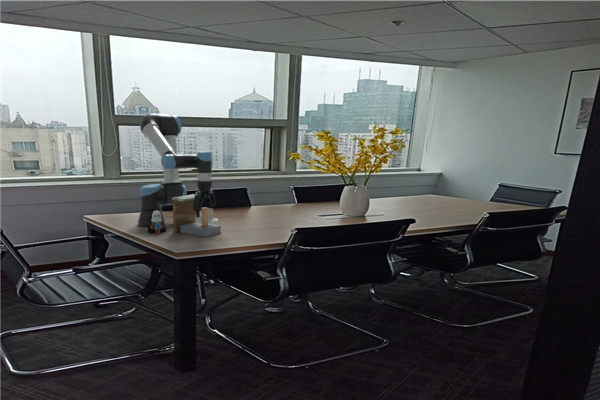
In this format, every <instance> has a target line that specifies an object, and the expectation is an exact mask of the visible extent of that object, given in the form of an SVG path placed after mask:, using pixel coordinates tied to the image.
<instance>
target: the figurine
mask: <svg viewBox="0 0 600 400" xmlns="http://www.w3.org/2000/svg"><path fill="white" fill-rule="evenodd" d="M151 221H153V222H152V226H151V227H147V234H151V235H161V234H165V233H166V232H167V227H166V226H164V225H162V224H161V221H162V219H161V213H160V212H159V211H157V210H156V211H154V212H153V214H152V220H151ZM154 222H156V223H155V225H154V226H153V224H154Z"/></svg>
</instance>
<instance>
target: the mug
mask: <svg viewBox="0 0 600 400" xmlns="http://www.w3.org/2000/svg"><path fill="white" fill-rule="evenodd" d="M218 222H219V219H218V218H216V217H215V218H214V217H213V220H208V224H213V223H218ZM201 223H202V212H201Z"/></svg>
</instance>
